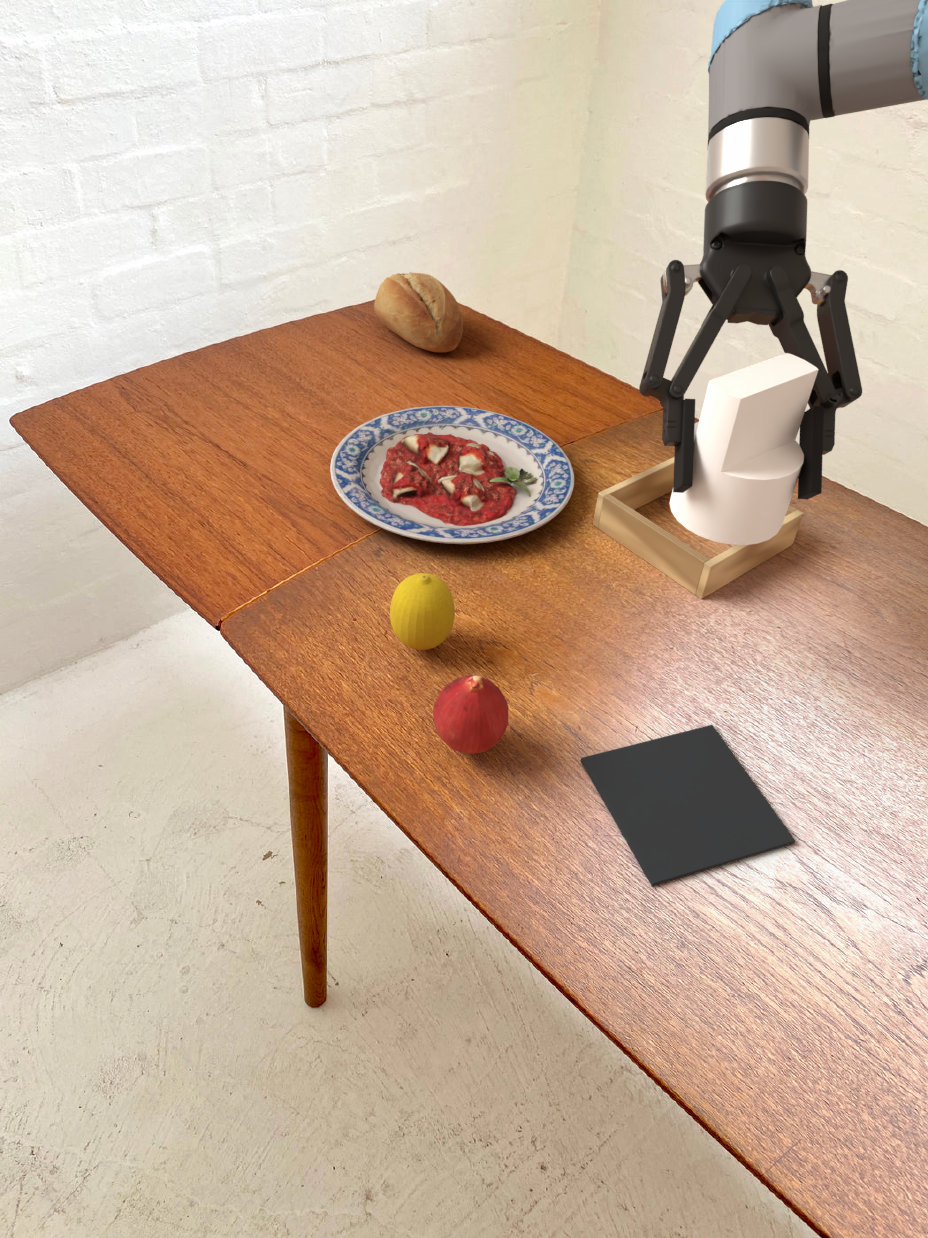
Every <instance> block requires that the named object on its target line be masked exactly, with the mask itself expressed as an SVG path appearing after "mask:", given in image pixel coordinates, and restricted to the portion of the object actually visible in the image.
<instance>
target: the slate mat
mask: <svg viewBox="0 0 928 1238" xmlns="http://www.w3.org/2000/svg"><path fill="white" fill-rule="evenodd" d="M580 763H581V765H582V766H583V768H584V770H585V771H586V773H587V775H588V777H589V779H590V780H591V782H592V784H593V785H594V787H595V790H596V791H597V792H598V794H599V796H600V797H601V800H602V802H603V803H604V805H605V807H606V808H607V810H608V812H609V814H610V816H611V817H612V819H613V821H614V823H615V825H616V826H617V828H618V829H619V832H620V833H621V835H622V836H623V839H624V840H625V842H626V844H627V846H628V847H629V849H630V851H631V852H632V854H633V856H634V858H635V859H636V861H637V863H638V865H639V867H640V868H641V870H642V872H643V874H644V876H645V877H646V879H647V881H648V882H649V884H650V886H651V887H655V886H659V885H661V884H665V883H668V882H672V881H675V880H678V879H681V878H684V877H688V876H691V875H695V874H699V873H701V872H704V871H709V870H711V869H714V868H718V867H721V866H724V865H728V864H732V863H734V862H737V861H741V860H744V859H748V858H751V857H754V856H757V855H762V854H764V853H767V852H771V851H775V850H778V849H781V848H784V847H787V846H790V845H794V844H795V843H796V839H795V838H794V836H793V835H792V834H791V832H790V831H789V829H788V827H786V826H785V823H784V822H783V821H782V820H781V818H780V817H779V816H778V814H777V813H776V811H775V810H774V808H773V807H772V806H771V804H770V803H769V801H768V800H767V799H766V798H765V796H764V795H763V793H762V792H761V790H760V789H759V787H758V786H757V785H756V783H755V782H754V781H753V779H752V777H751V776H750V775H749V774H748V772H747V771H746V769H745V768H744V767H743V765H742V764H741V763H740V761H739V759H738V758H737V757H736V756H735V754H734V753H733V751H732V750H731V748H730V747H729V746H728V744H727V743H726V741H725V740H724V739H723V737H722V736H721V735H720V733H719V732H718V731H717V729H716V728H715V726H714V725H713V724H709V725H705V726H702V727H701V726H700V727H698V728H694V729H689V730H685V731H682V732H681V731H680V732H678V733H673V734H670V735H666V736H662V737H658V738H654V739H650V740H647V741H641V742H639V743H635V744H631V745H626V746H622V747H618V748H615V749H611V750H607V751H602V752H598V753H594V754H591V755H587V756H583V757H580Z"/></svg>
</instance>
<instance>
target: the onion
mask: <svg viewBox="0 0 928 1238" xmlns="http://www.w3.org/2000/svg"><path fill="white" fill-rule="evenodd" d="M432 713H433V714H432V715H433V725H434V728H435V730H436V732H437V734H438V736H439V738H440V740H441V741H443V743H445V744H446V745H447V746H448V747H449V748H451V750H453V751H455V752H459V753H462V754H471V755H472V754H474V755H476V754H480V753H484V752H487V751H489V750H490V749H491V748H493V747H494V746H496V744H498V743H499V742H500V741H501V739H502V738H503V736H504V735H505V733H506V731H507V729H508V726H509V703H508V701H507V699H506V697H505V696H504V693H502V690H501V689H500V687H498V686H497V685H495V684H494V683H493V682H492V681H491V680H490V679H488V678H486V677H483V676H481V675H475V674H467V675H462V676H459V677H456V678H454V679H453V680H452V681H450V682H449V683H447V684H446V685H445V686H443V688H442V689H441V691H440V692H439V694H438V696H437V698H436V699H435V702H434V704H433V710H432Z"/></svg>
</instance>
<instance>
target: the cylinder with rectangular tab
mask: <svg viewBox="0 0 928 1238" xmlns="http://www.w3.org/2000/svg"><path fill="white" fill-rule="evenodd" d="M818 370H819V369H818V368H816V367H815V366H814V365H812V364H810V363H809V362H807V361H806V360H804V359H801V358H799V357H797V356H794V355H792V354H789V353H785V352H784V353H782V354H780V355H776V356H773V357H771V358H768V359H765V360H762V361H759V362H757V363H754V364H752V365H748V366H745V367H742V368H740V369H737V370H734V371H732V372H729V373H726V374H723V375H720V376H718V377H715V378H712V379H709V380H708V383H707V388H706V391H705V396H704V400H703V405H702V408H701V411H700V416H699V420H698V421H697V422H695V425H694V452H693V480H692V487H690V488H689V489H688V490H686V491H685V492H683V493H678V492H673V490H672V491H671V495H670V499H669V509H670V511H671V514H672V515H673V517H674V518H675V520H676V521H677V522H678V523H679V524H680V525H682V526H683V527H684V528H685V529H686V530H688V531H690V532H691V533H693V534H695V535H697V536H699V537H701V538H704V539H706V540H708V541H712V542H715V543H719V544H725V545H733V546H735V545H750V544H758V543H761V542H764V541H767V540H769V539H771V538H772V537H774V536H775V535H776V534H777V533H778V532H779V530H780V529H781V527H782V524H783V521H784V518H785V515H786V512H787V509H788V507H789V505H791V504H790V503H791V500H792V497H793V494H794V491H795V488H796V486H797V484H798V477H799V474H800V471H801V468H802V465H803V462H804V454H803V452H802V449H801V447H800V445H799V442H798V441H796V440H797V438H798V437H797V436H798V434H799V432H800V425H801V422H802V419H803V415H804V412H806V409H807V406H808V400H809V397H810V394H811V391H812V388H813V385H814V382H815V379H816V376H817V373H818Z"/></svg>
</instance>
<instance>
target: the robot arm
mask: <svg viewBox="0 0 928 1238" xmlns="http://www.w3.org/2000/svg"><path fill="white" fill-rule="evenodd" d="M710 50H711V51H710V56H709V61H708V63H707V64H708V65H707V72H708V124H707V125H708V127H707V128H708V131H707V157H706V174H705V175H706V177H705V200H706V201H707V203H706V205H705V208H704V219H703V220H704V221H703V222H704V223H703V250H702V258H701V261H700V263H697V264H684V263H683V262H682V261H681V260H679V259H674V260H671V261H670V262H669V263H668V265H667V267H666V268H665V270H664V271H663V274H662V275H661V277H660V291H661V306H660V309H659V313H658V318H657V319H656V325H655V328H654V332H653V336H652V339H651V343H650V346H649V350H648V354H647V357H646V361H645V365H644V369H643V372H642V375H641V380H640V382H639V383H640V384H639V387H638V390H639V393H640V394H641V395H642V396H643V397H651V398H654V399H656V400H657V401H659V404H660V406H661V407H662V428H661V429H662V431H661V433H662V434H661V440H662V444H663V446H664V447H674V456H673V457H674V482H673V492H678V493H683V492H685V491H686V490H688V489H689V488H690V487H692V480H693V452H694V425H695V423H696V422H695V420H696V398H685V394H686V392H687V391H688V389H689V387H690V386H691V384H692V381H693V380H694V378H695V377H696V374H697V373H698V371H699V369H700V367H701V365H702V364H703V362H704V361H705V358H706V356H707V355H708V353H709V351H710V349H711V348H712V346H713V344H714V342H715V340H716V339H717V336H718V335H719V333H720V331H721V330H722V327H723V326H724V324H725V323H726V321H727V324H742V323H747V322H748V323H752V324H755V325H757V326H768V327H769V329H770V331H771V334H772V336H774V338H777V340H778V342H779V344H780V346H781V349H782V350H783V352H784V354H785V353H789V354H792V355H794V356H797V357H799V358H801V359H804V360H806V361H807V362H809V363H810V364H812V365H814V366H815V367H816V368H818V369H819V370H818V373H817V376H816V379H815V382H814V385H813V388H812V391H811V394H810V397H809V400H808V403H807V406H808V407H809V408H808V409H807V410H805V412H804V415H803V419H802V422H801V425H800V428H799V441H798V444H799V445H800V447H801V449H802V452H803V454H804V462H803V465H802V468H801V471H800V474H799V477H798V480H797V500H810V499H812V498H814V497H816V496H818V495H820V494H822V491H823V490H822V488H823V486H822V485H823V484H822V483H823V456H825V455H827V454H828V453H830V452H832V451H833V449H834V446H835V442H836V441H835V439H836V432H835V431H836V413H837V410H838V409H842V408H845V407H847V406H848V405H850V404H852V403H854V402H855V401H857V400H858V399H860V397H861V396H862V395H863V387H862V381H861V377H860V371H859V366H858V361H857V357H856V356H857V355H856V350H855V346H854V342H853V341H854V340H853V337H852V331H851V326H850V321H849V316H848V311H847V306H846V295H847V290H848V289H847V287H848V282H849V276H848V274H847V272H846V271H844V270H842V269H839V270H835V271H834V273H832V274H828V273H823V272H817V271H812V270H811V267H810V265H809V263H808V260H807V257H806V248H807V235H808V234H807V231H808V228H807V227H808V198H807V196H806V194H807V192H808V189H809V163H810V162H809V160H810V159H809V157H810V156H809V155H810V154H809V153H810V148H809V147H810V145H809V144H810V124H811V121H817V120H823V119H829V118H835V117H837V116H842V115H849V114H853V113H854V114H855V113H859V112H865V111H871V110H876V109H883V108H887V107H892V106H893V107H894V106H899V105H905V104H909V103H915V102H921V101H928V0H844V1H840V2H836V3H827V4H824V5H822V4H820V5H816V6H814V5H813V0H724V1H723V2H722V4H721V5H720V7H719V9H718V10H717V12H716V15H715V18H714V22H713V29H712V39H711V49H710ZM694 283H698V285H699V287H700V288H701V290H702V291H703V293H704V294H705V296H706V297H707V299H708V300H709V302H710V303H711V304H712V305H711V307H710V309H708V312H707V314H706V316H705V318H704V319H703V321H702V323H701V325H700V328H699V329H698V331H697V333H696V335H695V337H694V339H693V340H692V342H691V343H690V345H689V348H687V351H686V352H685V354H684V356H683V358H682V360H681V362H680V363H679V366H678V367H677V369H676V371H675V372H674V374H673V376H672V378H671V380H670V379H668V378H666V377H664V376H665V372H666V368H667V365H668V361H669V358H670V357H669V356H670V354H671V350H672V346H673V342H674V338H675V334H676V331H677V328H678V323H679V320H680V316H681V313H682V309H683V305H684V302H685V298H686V296H688V295H689V294H690V292H691V290H692V289H693V287H694ZM804 289H805V290H807V291H808V292H810V298H811V303H812V304H813V305H816V319H817V324H818V329H819V336H820V340H821V345H822V350H823V355H824V360H825V364H824V362H823V360H822V357H821V355H820V353H819V351H818V349H817V347H816V345H815V342H814V340H813V338H812V336H811V333H810V331H809V329H808V327H807V325H806V323H805V313H804V310H803V308H802V305H801V304H800V302H799V299H798V297H799V296H800V295H801V293H802V292H803V291H804ZM825 365H826V367H825Z"/></svg>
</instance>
